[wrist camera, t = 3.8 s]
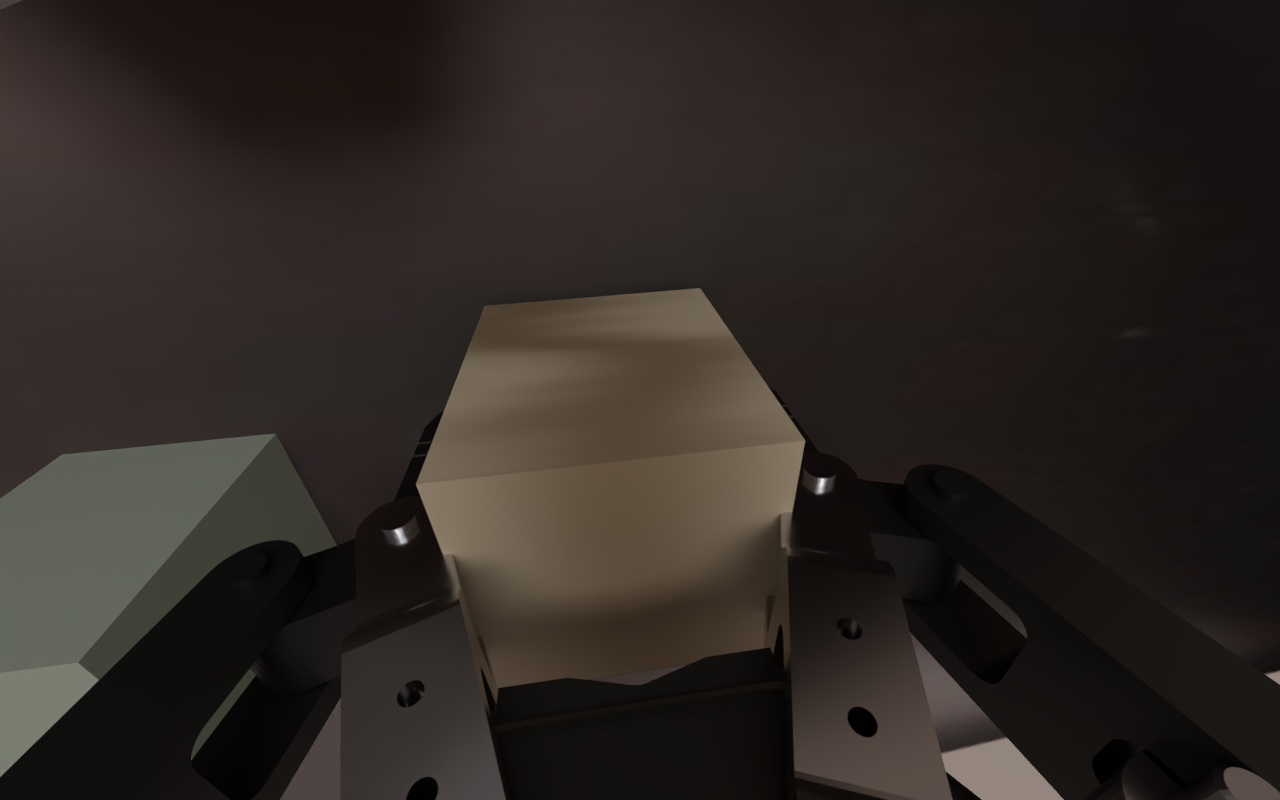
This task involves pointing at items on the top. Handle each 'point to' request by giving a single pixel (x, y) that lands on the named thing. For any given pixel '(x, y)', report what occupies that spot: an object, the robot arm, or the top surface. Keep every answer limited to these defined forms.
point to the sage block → (126, 560)
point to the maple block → (610, 486)
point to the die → (7, 3)
